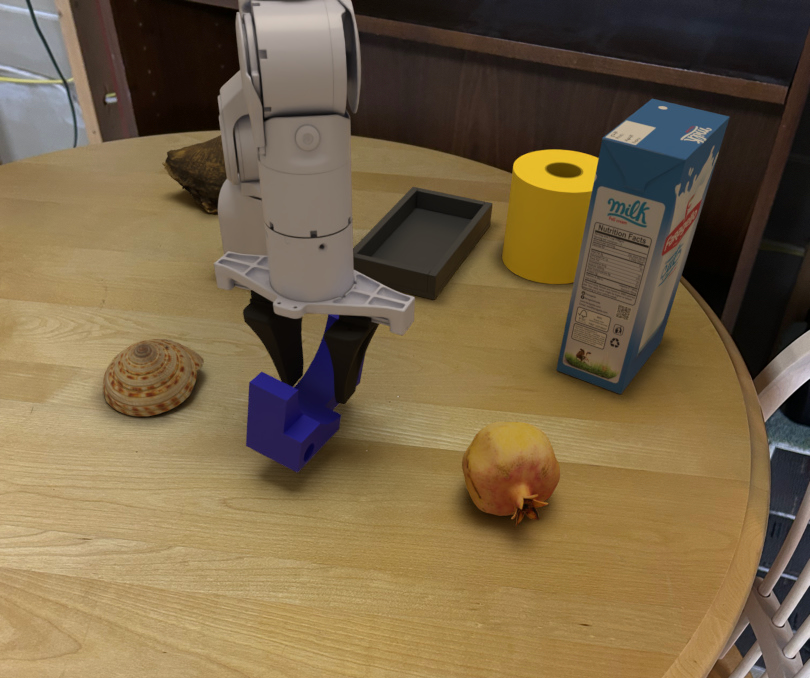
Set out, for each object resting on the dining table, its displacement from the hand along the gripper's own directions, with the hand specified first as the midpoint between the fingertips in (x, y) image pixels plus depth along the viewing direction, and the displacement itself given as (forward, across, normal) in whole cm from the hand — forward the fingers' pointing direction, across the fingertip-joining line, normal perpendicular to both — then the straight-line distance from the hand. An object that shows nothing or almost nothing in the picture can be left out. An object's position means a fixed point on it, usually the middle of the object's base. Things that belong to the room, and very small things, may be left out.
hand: (319, 388), depth 62 cm
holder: (+5, -4, +32) cm, 32 cm away
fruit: (+5, +16, -1) cm, 17 cm away
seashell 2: (+5, -28, +35) cm, 45 cm away
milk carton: (+5, +19, +21) cm, 29 cm away
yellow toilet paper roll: (+5, +9, +36) cm, 37 cm away
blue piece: (+2, 0, -1) cm, 2 cm away
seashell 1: (+5, -16, 0) cm, 17 cm away
